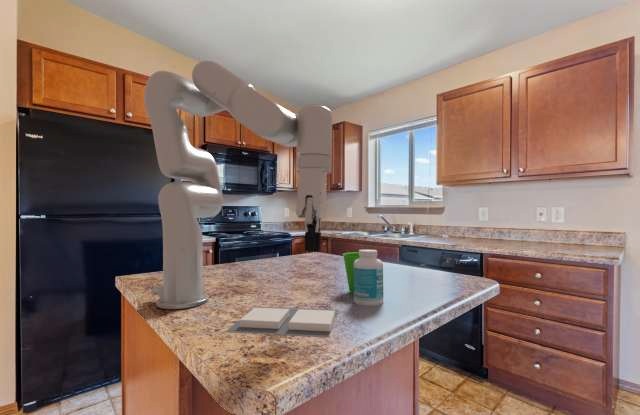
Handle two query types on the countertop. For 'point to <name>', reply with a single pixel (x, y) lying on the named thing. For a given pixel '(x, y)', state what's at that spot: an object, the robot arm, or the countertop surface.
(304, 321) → the tile
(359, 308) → the countertop surface
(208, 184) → the robot arm
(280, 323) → the tile
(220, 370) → the countertop surface
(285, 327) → the mat
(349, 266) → the cup
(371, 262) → the pill bottle
